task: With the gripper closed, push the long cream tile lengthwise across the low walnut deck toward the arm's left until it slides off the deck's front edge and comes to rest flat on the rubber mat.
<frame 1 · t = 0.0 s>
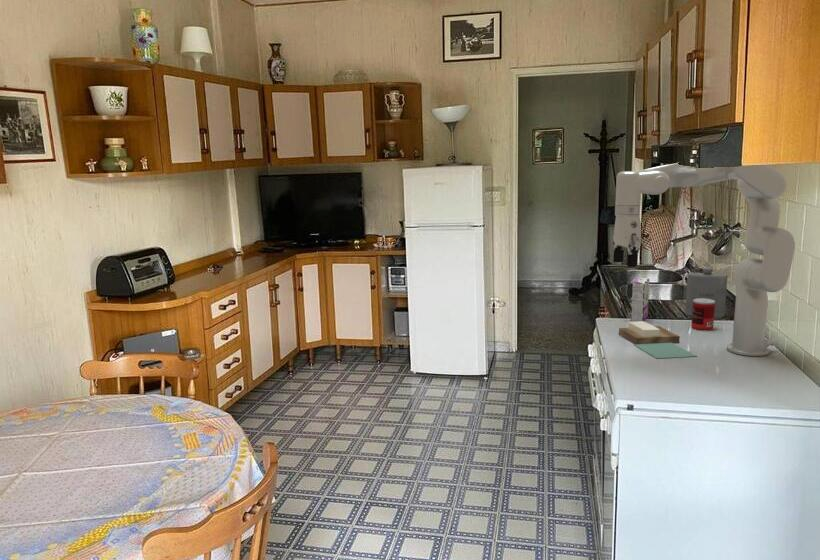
hand: (624, 264, 203), 31 cm above the counter, fingers open, 9 cm apart
mat: (664, 350, 216), on the counter
deck: (648, 338, 231), on the counter
grey upright rectangular block: (704, 316, 263), on the counter
candy bar box: (639, 320, 258), on the counter
canned food: (702, 328, 244), on the counter
tile: (643, 332, 230), point 2 cm above the counter, touching deck
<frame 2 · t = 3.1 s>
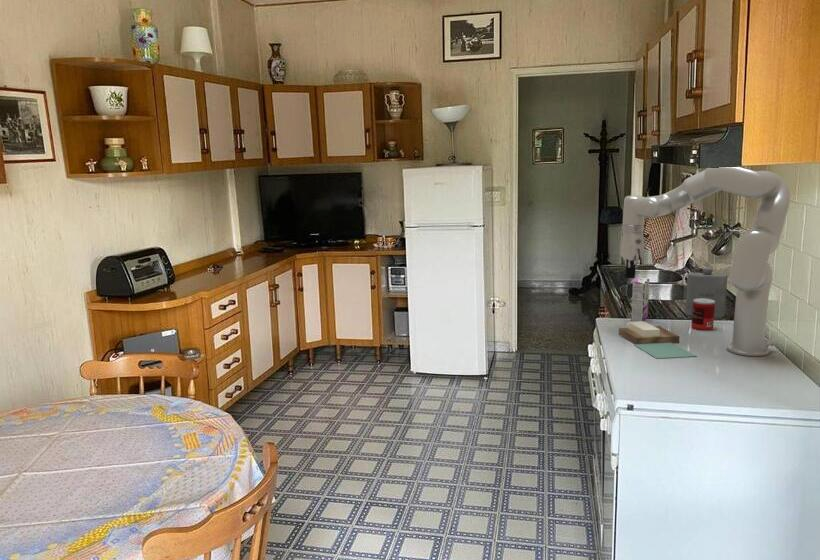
hand: (629, 277, 239), 20 cm above the counter, fingers closed
nothing on the counter moved.
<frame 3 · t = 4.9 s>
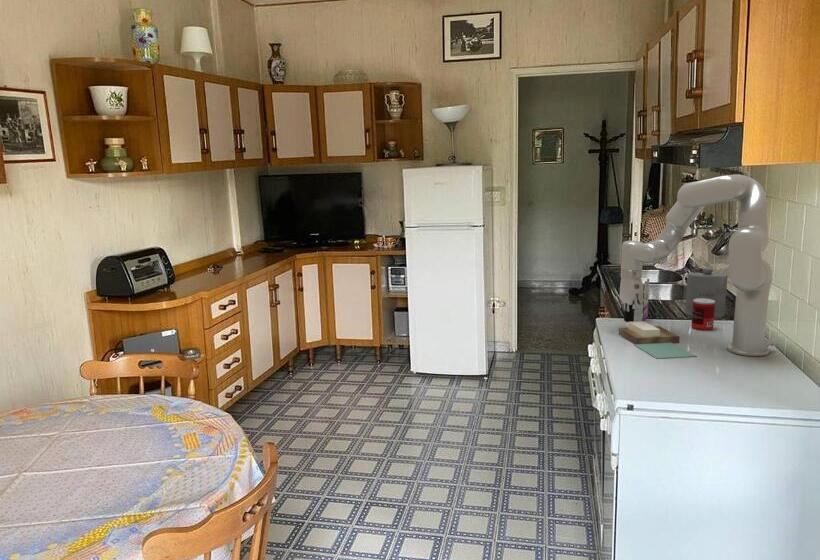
hand: (628, 321, 241), 4 cm above the counter, fingers closed
nothing on the counter moved.
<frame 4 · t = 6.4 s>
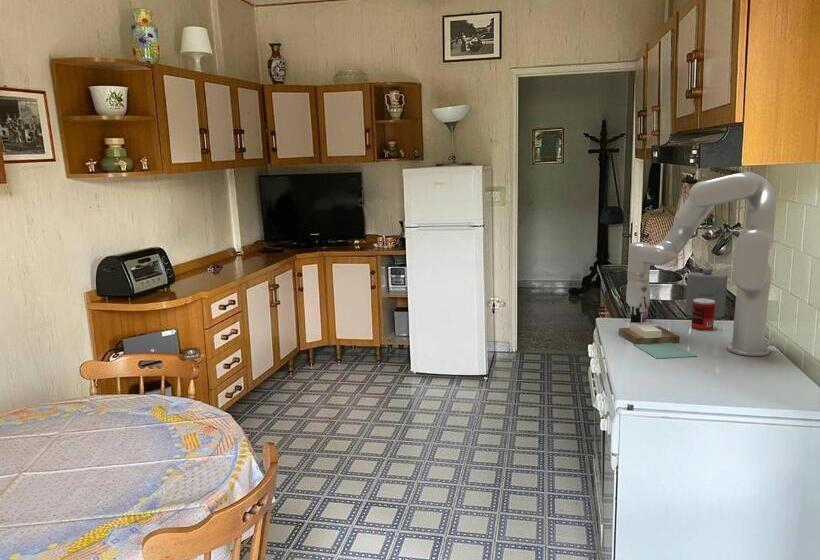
hand: (635, 324, 236), 4 cm above the counter, fingers closed
tile: (645, 333, 228), point 3 cm above the counter, touching gripper
everything else where it was.
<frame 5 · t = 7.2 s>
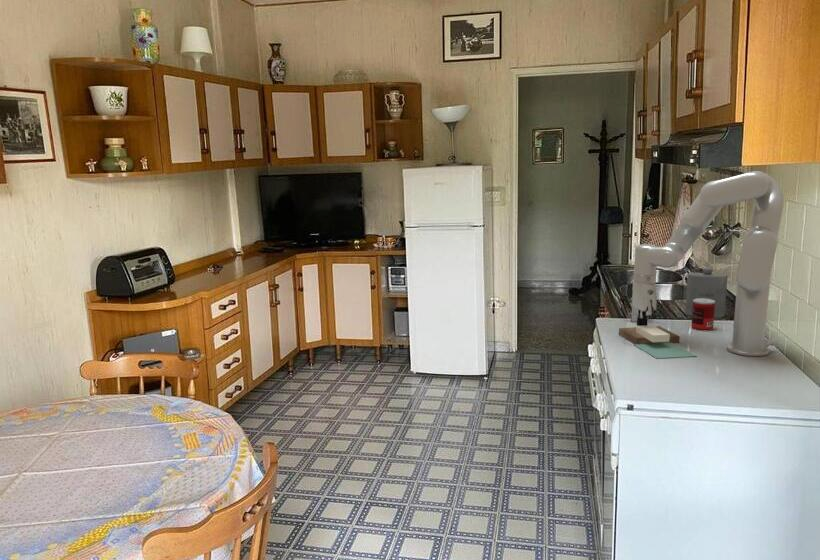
hand: (641, 328, 231), 4 cm above the counter, fingers closed
tile: (652, 336, 224), point 3 cm above the counter, touching gripper
everything else where it was.
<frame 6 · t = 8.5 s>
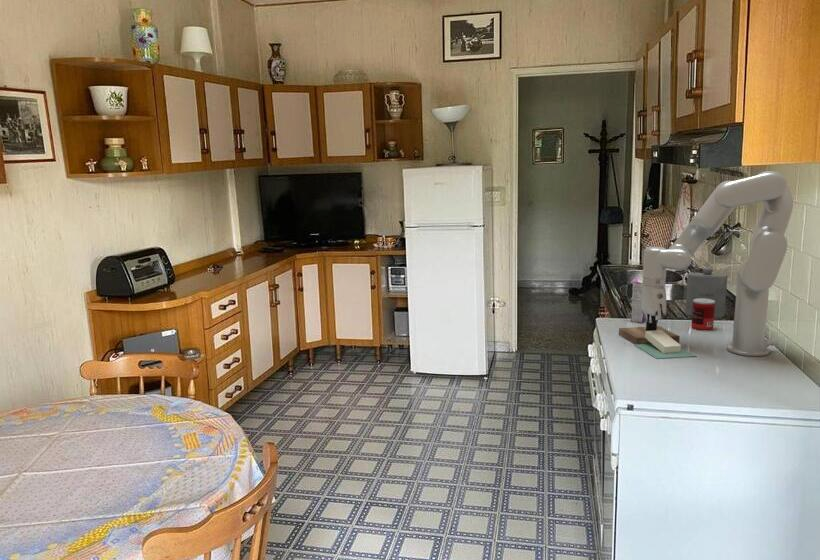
hand: (651, 333, 224), 4 cm above the counter, fingers closed
tile: (661, 344, 218), point 1 cm above the counter, tilted 11°, touching gripper, mat
everything else where it was.
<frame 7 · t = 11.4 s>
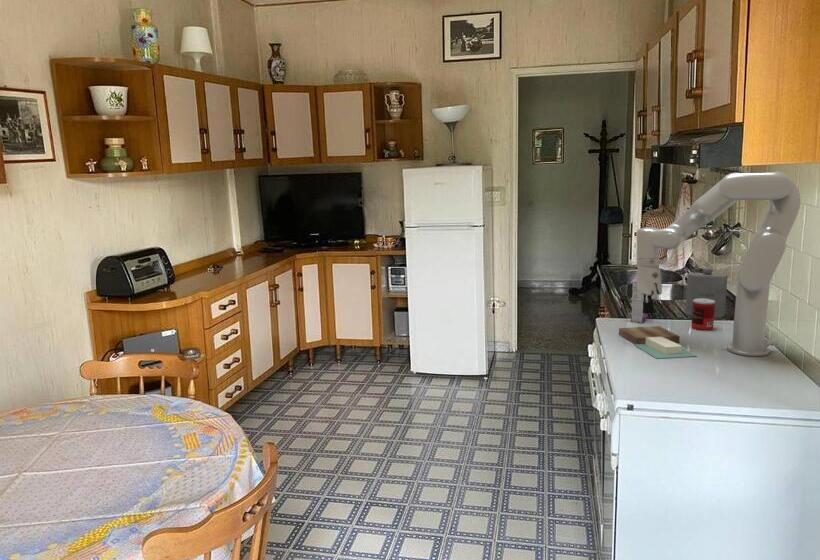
hand: (648, 312, 228), 10 cm above the counter, fingers closed
tile: (663, 348, 217), resting on mat
everything else where it was.
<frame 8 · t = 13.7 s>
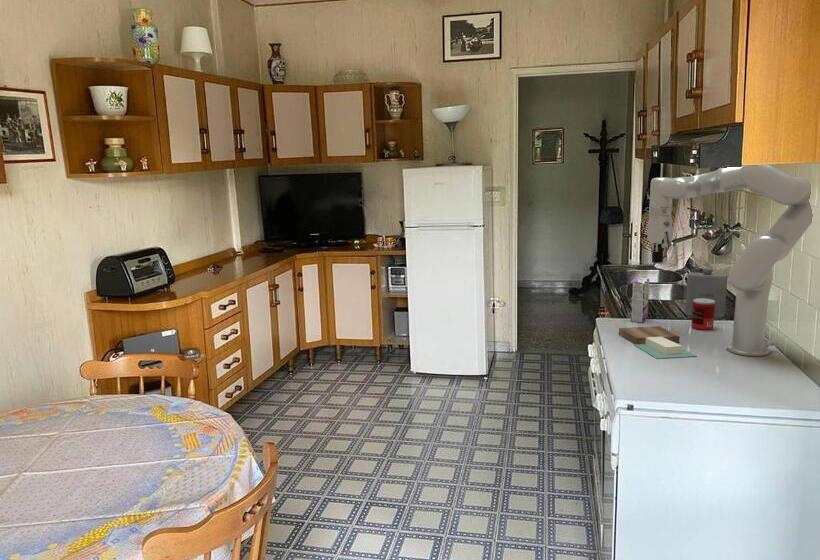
hand: (657, 262, 232), 27 cm above the counter, fingers closed
nothing on the counter moved.
at the end: tile resting on mat; tile inside the target area on the mat (1.5 cm from its centre), point 0.3 cm above the mat's base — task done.
